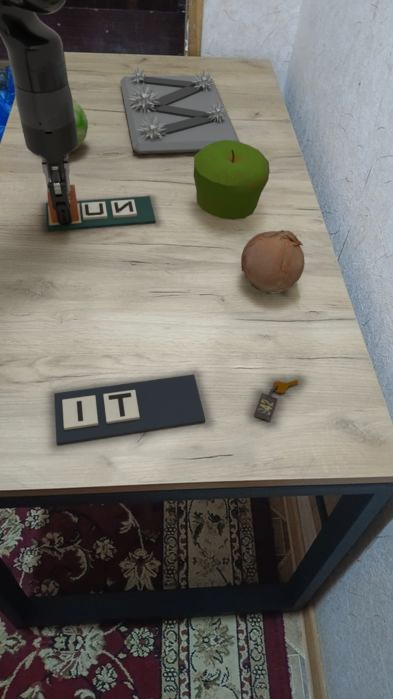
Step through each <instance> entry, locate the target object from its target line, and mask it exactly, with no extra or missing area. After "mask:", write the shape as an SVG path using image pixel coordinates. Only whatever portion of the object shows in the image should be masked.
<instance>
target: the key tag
mask: <svg viewBox="0 0 393 699" xmlns="http://www.w3.org/2000/svg"><path fill="white" fill-rule="evenodd" d="M298 383H299V380H298V379H295V380H291V381H289V382H286V381H284V382H283V381H278V380H277V381H275V382H273V383H272V384H273V385H272V388H271V389H270V390H269V393H268V394H266V393H263V392H261V395H260V397H259V400H258V402H257V405H256V408H255V411H254V413H253V416H254V417H256V418H259V419H262V420H265V421H266V422H271V419H272V417H273V414H274V411H275V409H276V405H277V402H278V398H277V397H274V396H272V395H273V393H274V392H276V393H278V394H284V393H286V391H287V389H289V387H292V386H295V385H298Z"/></svg>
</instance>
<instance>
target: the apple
mask: <svg viewBox="0 0 393 699" xmlns="http://www.w3.org/2000/svg"><path fill="white" fill-rule="evenodd" d="M239 141H240V140H239ZM239 141H232V140H223V141H217V142H214V143H212V144H209V145H207V146H205V147H204V148H203V149H201V150H200V151H199V152H196V154H195V155H194V156H193V180H194V181H193V182H194V184H195V186H194V187H195V191H196V204H197V205H198V207H199V208H200V209H201V210H202V211H203V212H204V213H206V214H208V215H210V216H213V217H215V218H219V219H222V220H232V221H233V220H234V221H235V220H241V219H246V218H248V217H249V216H251V215H253V214H254V212H255V211H256V209H257V206H258V203H259V201H260V198H261V195H262V193H263V190H264V189H265V187H266V186H267V183H268V181H269V178H270V162H269V160H268V159H267V158H266V156H265V155H264V154H263V153H262V152H261V151H260V150H259V149H258V148H255V147H253V146H252V145H250V144H247V143H244V142H241V141H240V142H239Z"/></svg>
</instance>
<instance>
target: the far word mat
mask: <svg viewBox="0 0 393 699" xmlns="http://www.w3.org/2000/svg"><path fill="white" fill-rule="evenodd" d="M77 205H78V214H79V221H72V223H71V224H59V223H58V222H54V223H52V220H51V215H50V210H49V205H48V202H46V203H45V215H46V216H45V217H46V218H45V219H46V231H47V232H56V231H70V230H72V231H73V230H84V229H95V228H97V229H99V228H108V227H109V228H111V227H121V226H122V227H123V226H134V225H147V224H156V223H157V220H156V216H155V213H154V208H153V204H152V200H151V197H150V195H145V196H130V197H129V196H128V197H114V198H101V199H85V200H77Z"/></svg>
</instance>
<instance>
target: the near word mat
mask: <svg viewBox="0 0 393 699" xmlns="http://www.w3.org/2000/svg"><path fill="white" fill-rule="evenodd" d="M53 396H54V416H55V417H54V418H55V419H54V420H55V438H56V440H55V441H56V445H58V446H59V445H65V444H71V443H78V442H79V443H80V442H86V441H91V440H98V439H104V438H112V437H116V436H117V437H118V436H124V435H130V434H136V433H137V434H138V433H142V432H149V431H155V430H156V431H157V430H163V429H169V428H176V427H182V426H187V425H188V426H189V425H195V424H201V423H206V417H205V413H204V410H203V403H202V401H201V396H200V392H199V387H198V384H197V380H196V376H195V374H193V373H192V374H187V375H180V376H171V377H165V378H155V379H149V380H142V381H136V382H126V383H120V384H113V385H104V386H99V387H90V388H84V389H76V390H68V391H61V392H55V393H54V394H53Z"/></svg>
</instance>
